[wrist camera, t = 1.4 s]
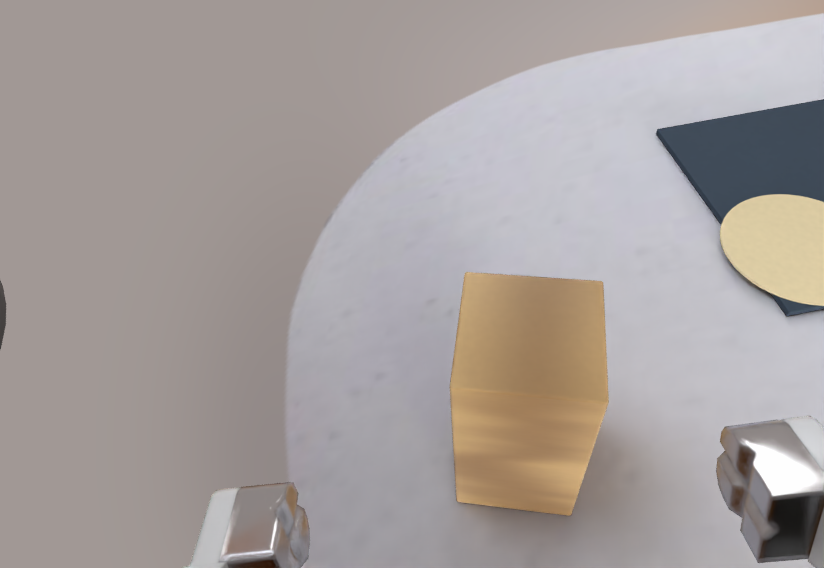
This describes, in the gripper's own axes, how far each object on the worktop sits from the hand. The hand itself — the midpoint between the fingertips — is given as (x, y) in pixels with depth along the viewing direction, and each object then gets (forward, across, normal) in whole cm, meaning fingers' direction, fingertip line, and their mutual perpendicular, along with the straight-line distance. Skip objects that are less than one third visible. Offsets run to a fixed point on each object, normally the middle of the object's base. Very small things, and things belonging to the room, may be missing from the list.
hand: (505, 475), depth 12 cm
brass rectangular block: (+12, -1, +13) cm, 18 cm away
